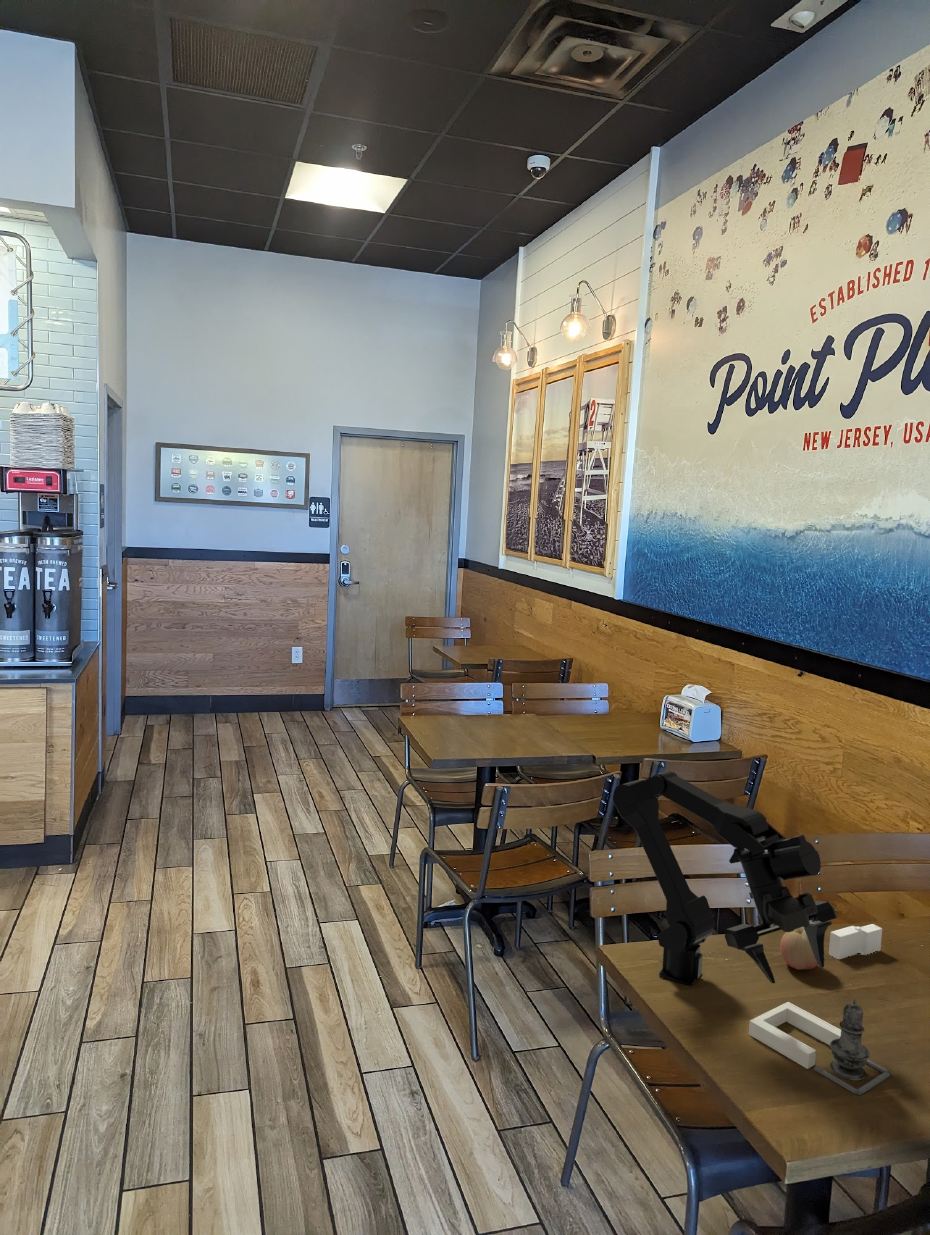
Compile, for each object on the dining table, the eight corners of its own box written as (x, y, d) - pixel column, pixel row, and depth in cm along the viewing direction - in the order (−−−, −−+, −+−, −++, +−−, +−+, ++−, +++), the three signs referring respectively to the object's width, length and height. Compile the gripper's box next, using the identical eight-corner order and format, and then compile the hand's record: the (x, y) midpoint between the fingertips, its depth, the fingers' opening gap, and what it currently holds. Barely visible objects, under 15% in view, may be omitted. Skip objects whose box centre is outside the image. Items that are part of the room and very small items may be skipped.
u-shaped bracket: (748, 1034, 148) (749, 1020, 148) (786, 1014, 155) (787, 1001, 154) (807, 1069, 139) (808, 1054, 139) (845, 1046, 146) (846, 1032, 145)
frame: (814, 1069, 139) (814, 1067, 139) (847, 1050, 145) (847, 1048, 145) (858, 1096, 133) (859, 1093, 133) (891, 1074, 139) (891, 1072, 139)
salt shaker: (872, 1084, 136) (878, 1012, 135) (832, 1078, 137) (838, 1006, 136) (863, 1062, 142) (869, 992, 140) (824, 1056, 143) (830, 987, 142)
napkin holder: (825, 964, 174) (828, 937, 174) (813, 938, 186) (815, 913, 185) (905, 974, 172) (908, 946, 171) (888, 946, 183) (890, 921, 182)
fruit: (776, 954, 177) (779, 917, 176) (817, 959, 175) (820, 922, 174) (782, 974, 169) (785, 935, 168) (825, 980, 167) (829, 940, 167)
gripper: (733, 900, 144) (766, 998, 140) (835, 869, 146) (870, 964, 142) (710, 898, 154) (741, 988, 151) (805, 868, 157) (838, 957, 153)
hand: (797, 975), depth 149 cm, fingers open, 9 cm apart
